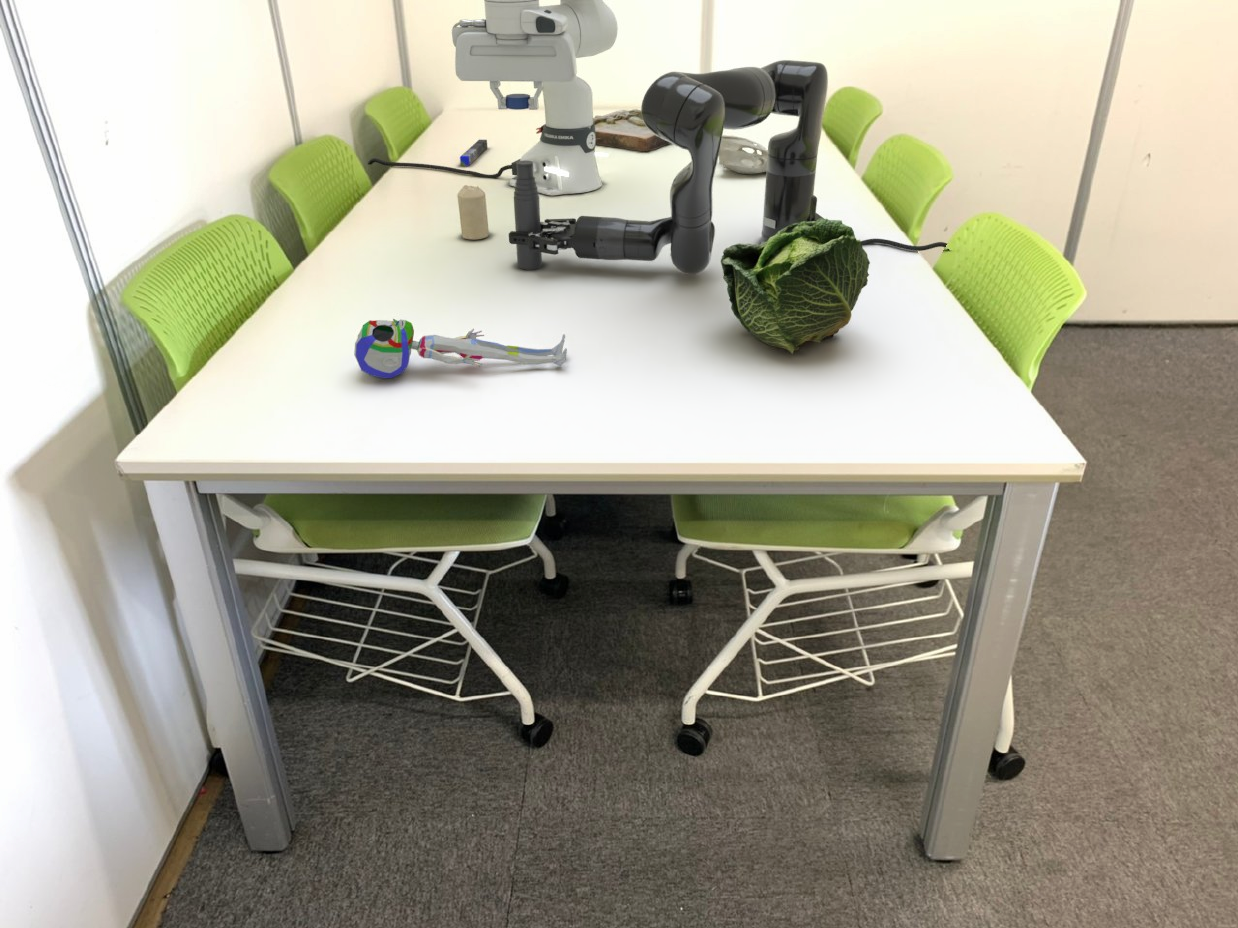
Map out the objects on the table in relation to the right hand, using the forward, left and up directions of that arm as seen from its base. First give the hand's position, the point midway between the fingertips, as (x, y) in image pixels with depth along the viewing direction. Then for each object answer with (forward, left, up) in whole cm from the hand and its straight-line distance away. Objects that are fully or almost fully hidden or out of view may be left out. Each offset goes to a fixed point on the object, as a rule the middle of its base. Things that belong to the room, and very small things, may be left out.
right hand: (514, 233), depth 166 cm
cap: (-2, +1, +24) cm, 24 cm away
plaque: (-45, -99, -6) cm, 109 cm away
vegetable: (-38, +44, -6) cm, 58 cm away
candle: (+6, -19, -6) cm, 21 cm away
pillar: (+2, -86, -6) cm, 87 cm away
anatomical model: (-65, -52, -6) cm, 84 cm away
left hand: (-2, +1, +22) cm, 22 cm away
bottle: (-2, +1, -6) cm, 7 cm away
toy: (+13, +42, -6) cm, 45 cm away
